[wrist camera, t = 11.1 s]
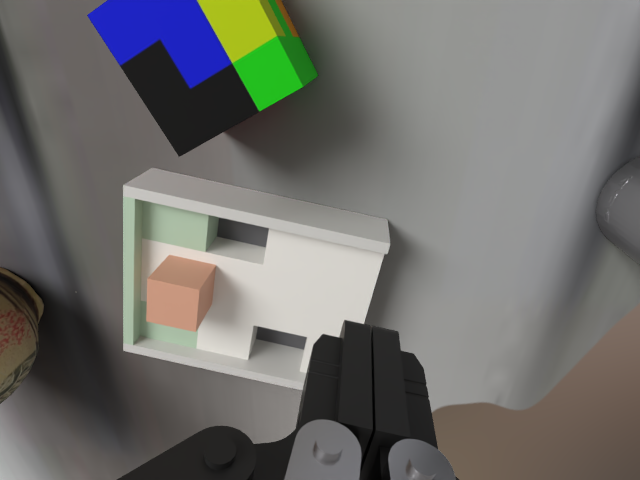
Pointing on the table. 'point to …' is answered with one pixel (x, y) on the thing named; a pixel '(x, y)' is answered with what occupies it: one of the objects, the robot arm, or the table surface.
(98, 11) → the puzzle toy
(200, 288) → the block
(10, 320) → the ceramic jug
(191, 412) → the table surface
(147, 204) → the box
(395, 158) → the table surface
